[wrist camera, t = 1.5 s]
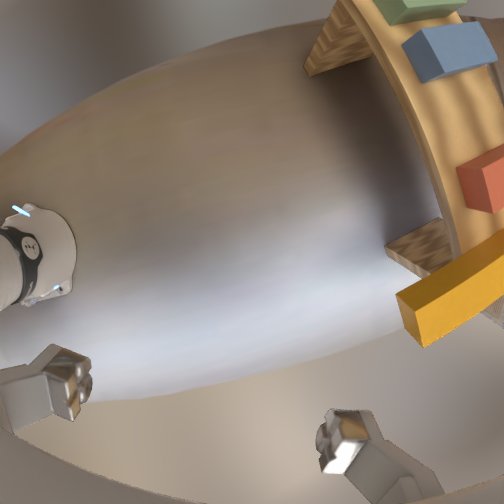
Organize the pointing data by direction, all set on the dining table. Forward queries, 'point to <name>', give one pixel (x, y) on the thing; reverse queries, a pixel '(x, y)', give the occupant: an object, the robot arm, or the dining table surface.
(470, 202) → the block
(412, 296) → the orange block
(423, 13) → the block
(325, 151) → the dining table surface
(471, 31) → the block
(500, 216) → the shelf
